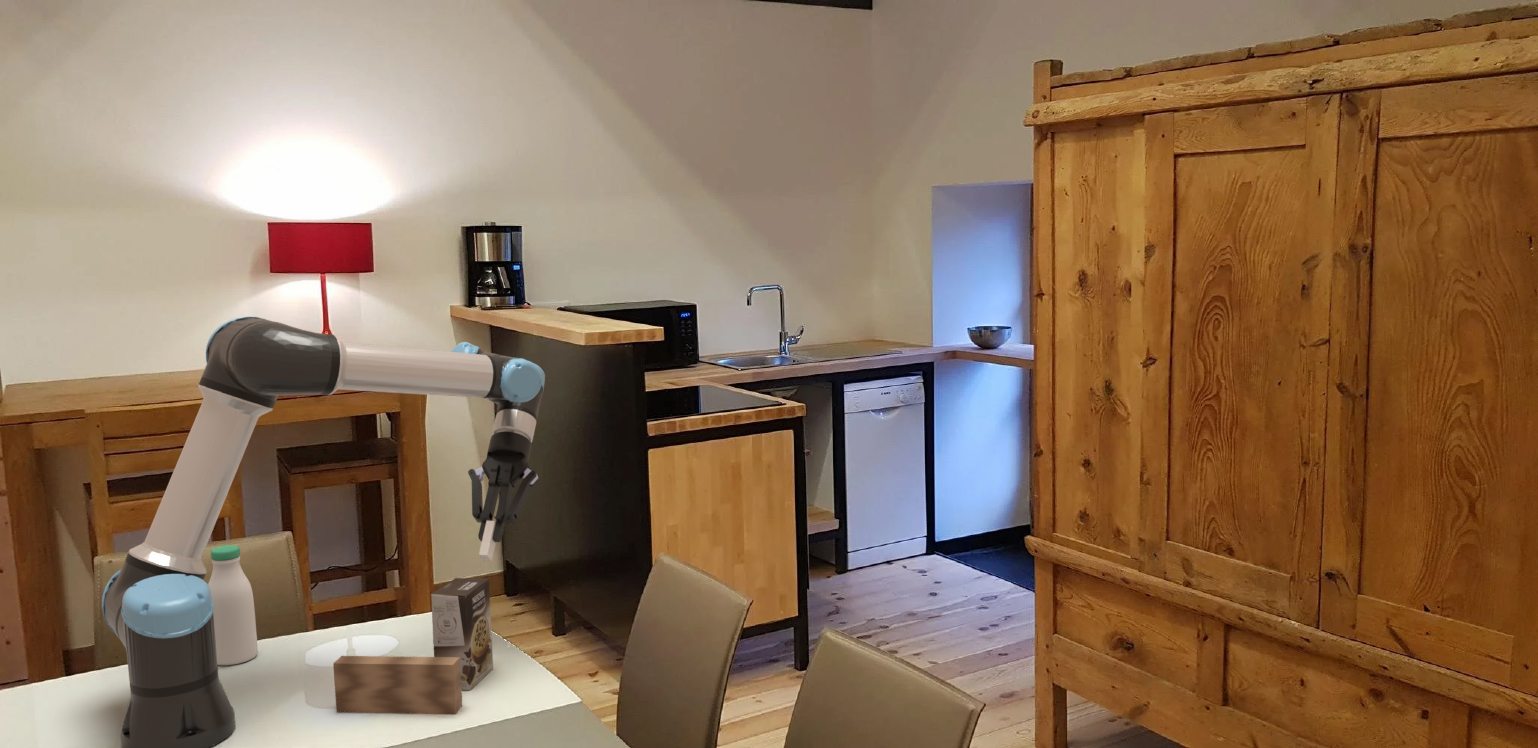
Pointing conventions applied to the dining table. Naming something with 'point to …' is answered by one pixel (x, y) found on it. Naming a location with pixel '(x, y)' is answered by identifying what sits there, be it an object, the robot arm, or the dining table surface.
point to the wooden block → (398, 684)
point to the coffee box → (464, 627)
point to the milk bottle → (232, 608)
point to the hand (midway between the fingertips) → (485, 558)
